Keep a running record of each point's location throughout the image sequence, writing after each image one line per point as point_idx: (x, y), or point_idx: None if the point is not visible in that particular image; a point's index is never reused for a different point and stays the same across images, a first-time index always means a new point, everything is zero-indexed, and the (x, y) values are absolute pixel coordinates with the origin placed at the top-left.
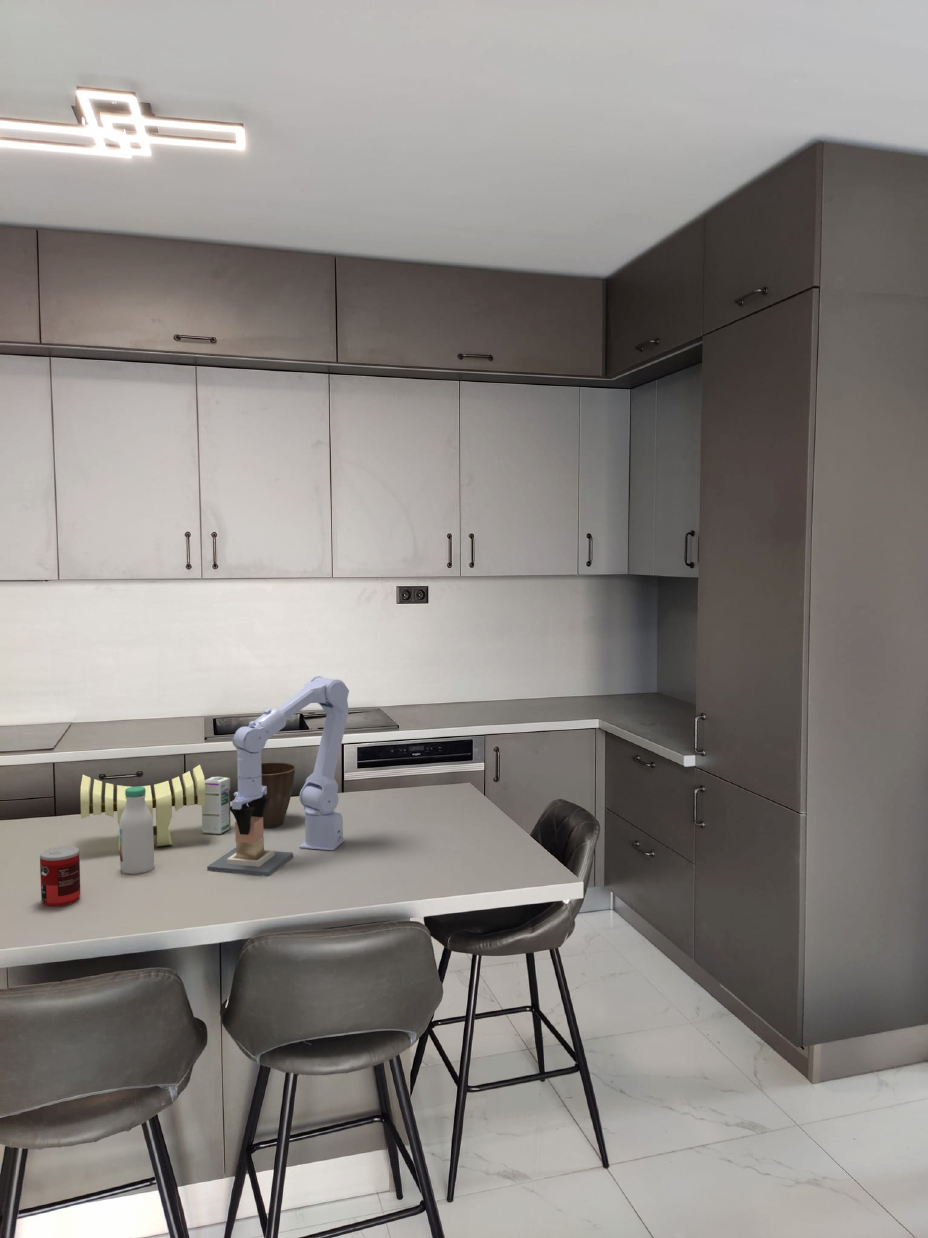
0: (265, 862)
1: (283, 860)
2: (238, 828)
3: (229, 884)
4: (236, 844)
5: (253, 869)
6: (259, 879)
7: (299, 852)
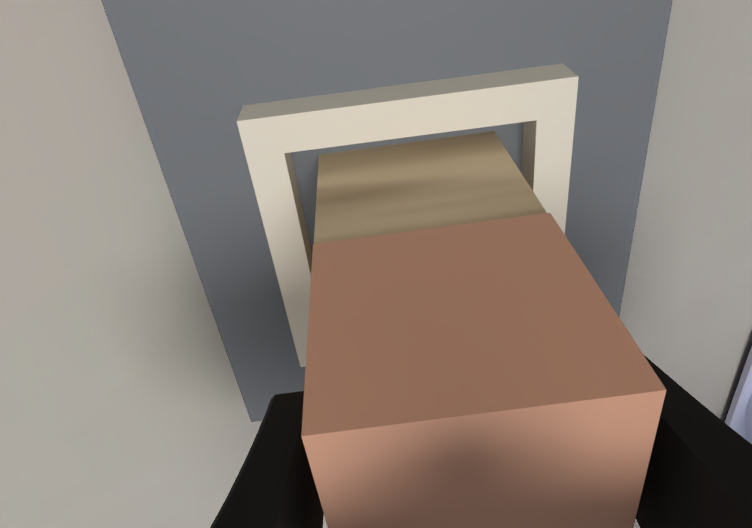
0: None
1: None
2: (253, 447)
3: (14, 296)
4: (315, 239)
5: (242, 340)
6: (190, 388)
7: (681, 352)
